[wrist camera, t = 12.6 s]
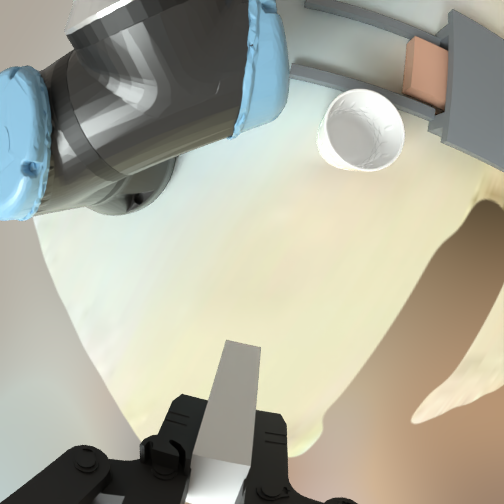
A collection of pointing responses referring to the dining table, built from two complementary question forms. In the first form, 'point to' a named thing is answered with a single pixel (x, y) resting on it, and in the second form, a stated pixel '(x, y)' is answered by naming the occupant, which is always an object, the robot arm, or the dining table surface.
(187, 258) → the dining table surface
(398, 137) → the white cup
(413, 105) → the overhang dock
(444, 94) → the salmon pink tile
